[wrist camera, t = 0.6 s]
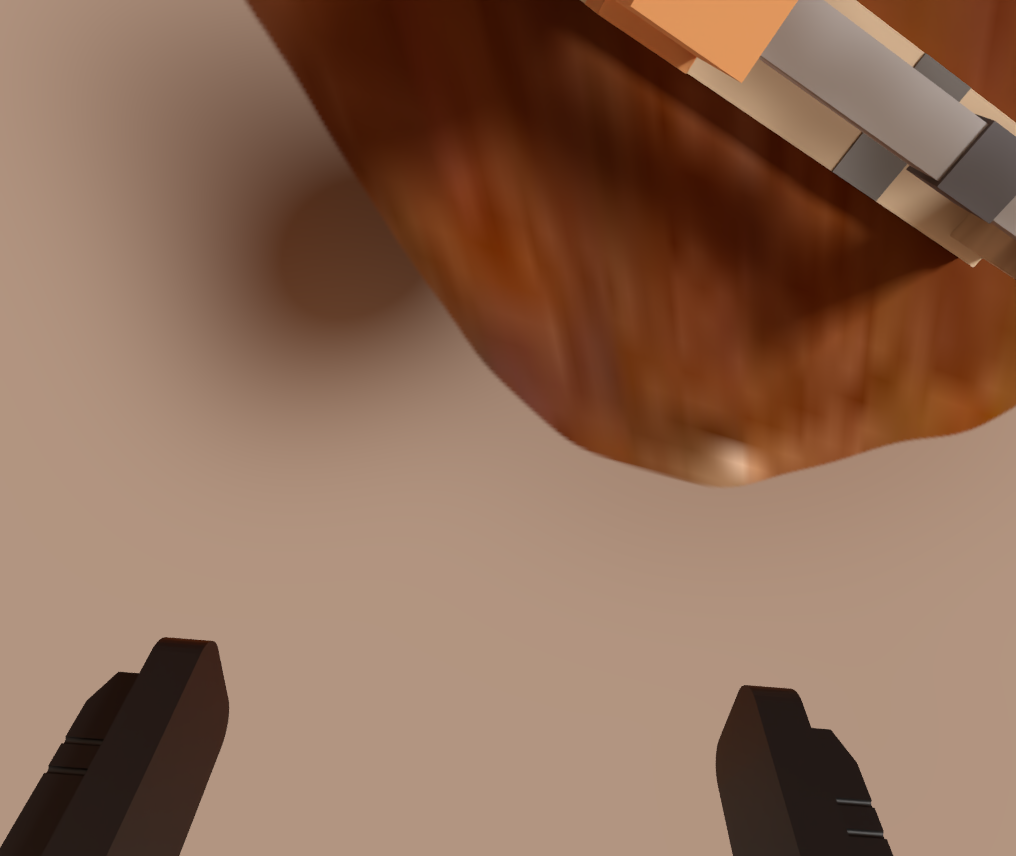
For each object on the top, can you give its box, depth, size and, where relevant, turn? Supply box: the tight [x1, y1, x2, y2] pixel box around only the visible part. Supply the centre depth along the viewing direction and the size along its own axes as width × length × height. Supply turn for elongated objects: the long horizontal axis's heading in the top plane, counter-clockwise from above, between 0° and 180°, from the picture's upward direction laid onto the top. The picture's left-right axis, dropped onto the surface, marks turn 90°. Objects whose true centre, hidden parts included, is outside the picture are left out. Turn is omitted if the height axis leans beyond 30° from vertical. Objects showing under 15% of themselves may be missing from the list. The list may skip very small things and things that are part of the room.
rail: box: [580, 0, 1016, 280], centre depth 25 cm, size 5×24×9 cm, turn 60°
